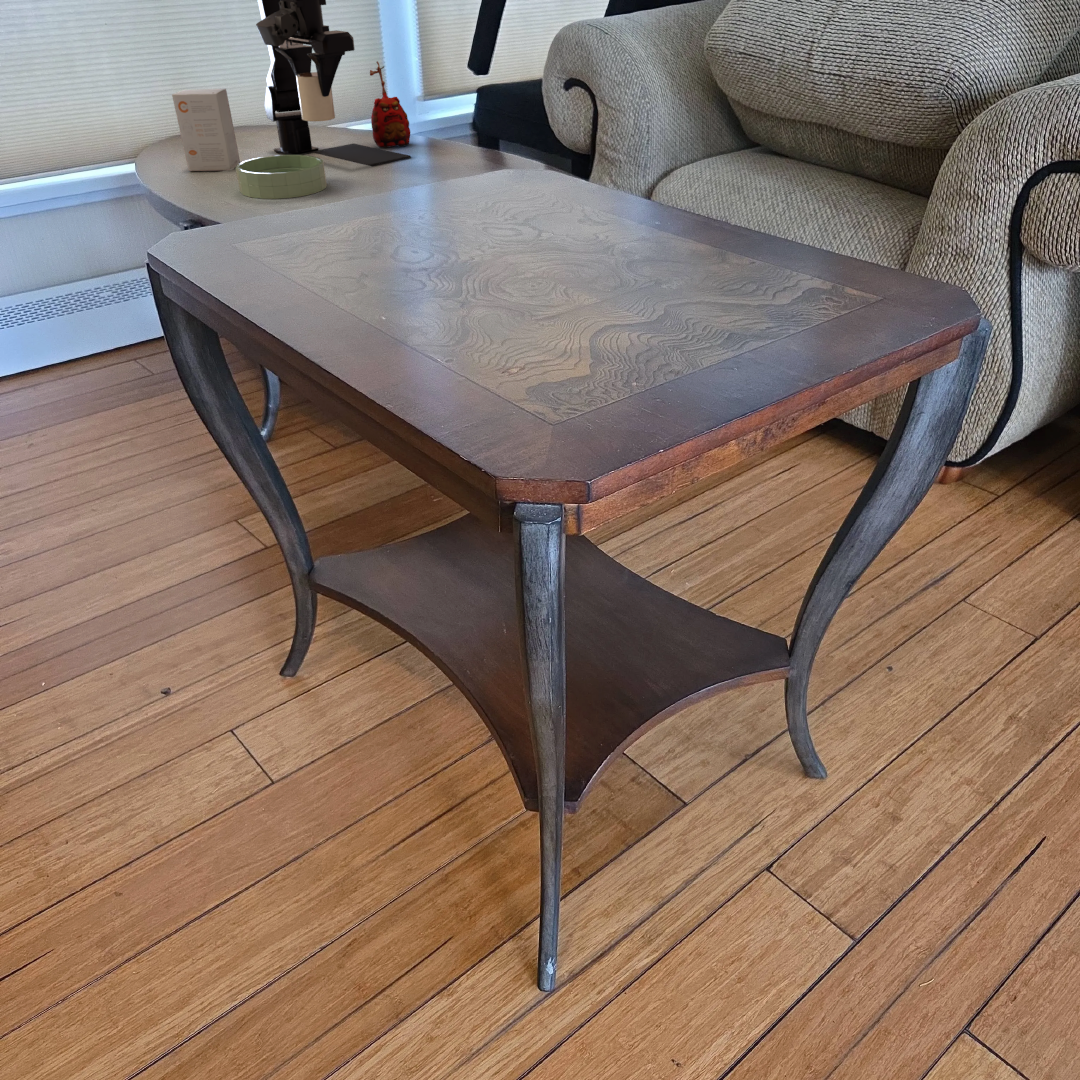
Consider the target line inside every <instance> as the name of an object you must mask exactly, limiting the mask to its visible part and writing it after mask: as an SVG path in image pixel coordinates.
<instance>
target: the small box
mask: <svg viewBox="0 0 1080 1080" xmlns="http://www.w3.org/2000/svg"><path fill="white" fill-rule="evenodd" d="M171 97H172V101H173V106H174V110H175V115H176V119H177V125H178V129H179V133H180V137H181V143H182V147H183V152H184V156H185V157H184V158H185V160H186V165H187V170H188V172H209V171H210V172H211V171H213V172H214V171H218V172H219V171H229V170H234V169H236V165H237V164H239V163H241V159H240V154H239V150H238V143H237V138H236V133H235V127H234V122H233V117H232V112H231V108H230V102H229V96H228V91H227V88H193V89H192V88H191V89H190V88H189V89H188V88H187V89H185V88H183V89H181V90H179V91H176V92H174V93H172V94H171Z"/></svg>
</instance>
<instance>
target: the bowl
mask: <svg viewBox="0 0 1080 1080" xmlns="http://www.w3.org/2000/svg"><path fill="white" fill-rule="evenodd" d="M235 172H236V178H237V179H236V180H237V184H238V189H239V193H240V194H241V195H243V196H245V197H249V198H253V199H262V200H279V199H280V200H281V199H292V198H301V197H305V196H310V195H314V194H317V193H320V192H322V191H324V190H325V189H326V188H327V184H328V183H327V178H326V177H327V176H326V170H325V162H324V160H323V159H322V158H320V157H317V156H313V155H308V154H306V155H287V154H277V155H269V156H259V157H253V158H250V159H246V160H243V161H240V163H239V164H237V165H236V167H235Z"/></svg>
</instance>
